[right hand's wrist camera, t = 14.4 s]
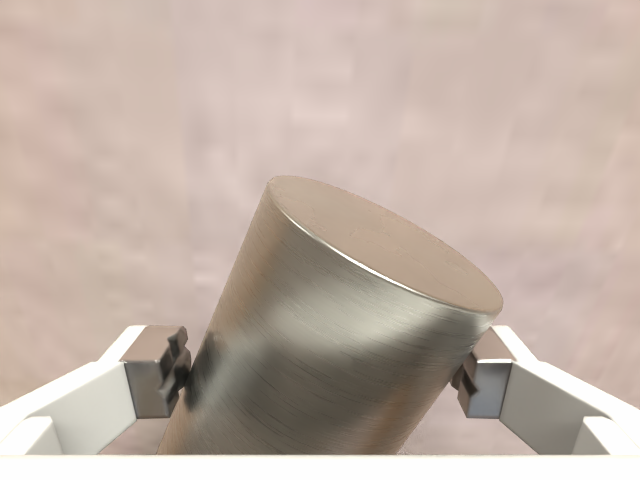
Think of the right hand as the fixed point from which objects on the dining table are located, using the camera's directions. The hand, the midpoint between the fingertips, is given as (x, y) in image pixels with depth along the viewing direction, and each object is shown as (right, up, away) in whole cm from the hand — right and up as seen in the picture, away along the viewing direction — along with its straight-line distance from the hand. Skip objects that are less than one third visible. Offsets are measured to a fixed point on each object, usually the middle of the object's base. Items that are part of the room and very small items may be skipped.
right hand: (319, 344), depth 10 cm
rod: (-3, -5, +5) cm, 8 cm away
